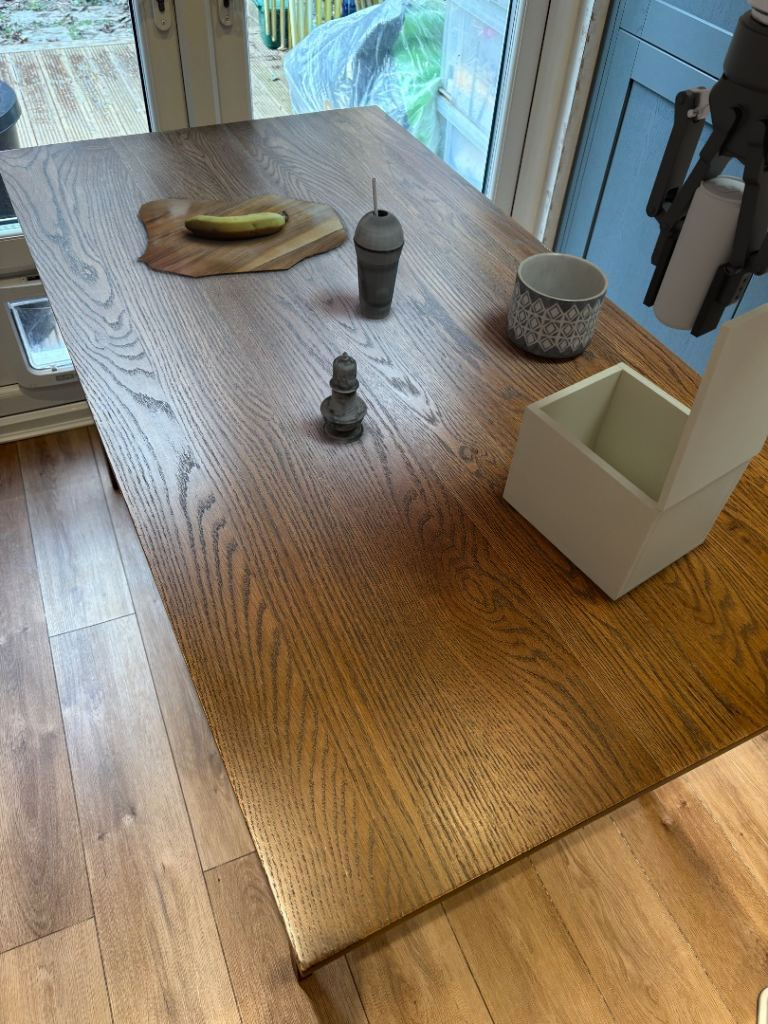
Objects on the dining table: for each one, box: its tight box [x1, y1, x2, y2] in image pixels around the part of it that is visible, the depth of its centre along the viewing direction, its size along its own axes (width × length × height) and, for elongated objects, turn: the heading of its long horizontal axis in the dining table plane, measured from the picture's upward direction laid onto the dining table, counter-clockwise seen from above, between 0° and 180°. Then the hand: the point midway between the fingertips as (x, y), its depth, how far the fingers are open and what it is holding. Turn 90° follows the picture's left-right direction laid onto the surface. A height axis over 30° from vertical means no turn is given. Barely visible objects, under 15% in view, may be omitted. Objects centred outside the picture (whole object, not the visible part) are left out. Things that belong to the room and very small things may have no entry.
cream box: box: [502, 361, 753, 601], centre depth 82 cm, size 18×15×14 cm
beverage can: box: [652, 174, 745, 331], centre depth 64 cm, size 5×5×12 cm
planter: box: [505, 252, 610, 359], centre depth 108 cm, size 13×13×10 cm
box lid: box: [656, 302, 768, 512], centre depth 66 cm, size 19×15×1 cm
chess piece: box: [319, 351, 368, 445], centre depth 91 cm, size 6×6×12 cm
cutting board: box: [136, 194, 347, 278], centre depth 126 cm, size 35×27×4 cm
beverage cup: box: [352, 177, 406, 320], centre depth 107 cm, size 7×7×20 cm
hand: (678, 315), depth 68 cm, fingers closed on beverage can, 5 cm apart
